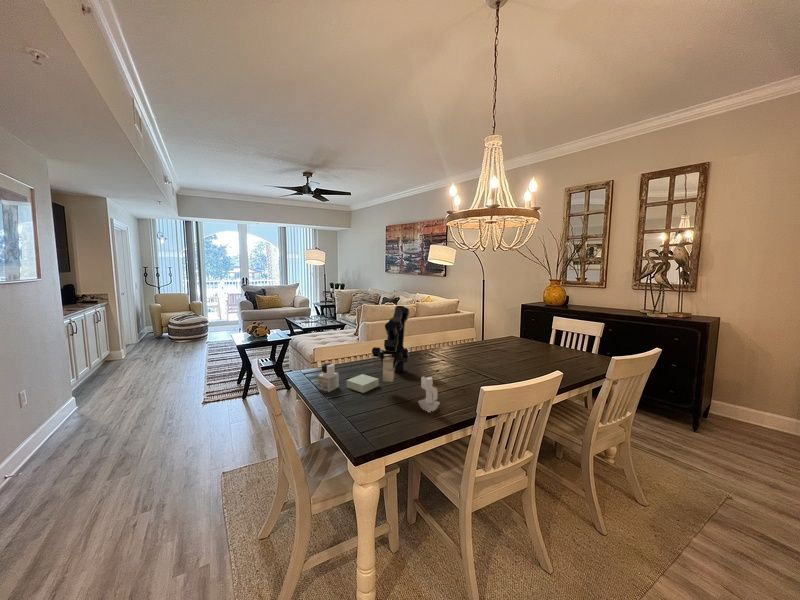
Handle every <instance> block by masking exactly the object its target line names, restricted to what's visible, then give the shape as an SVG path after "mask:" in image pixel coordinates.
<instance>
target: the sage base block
mask: <svg viewBox="0 0 800 600" xmlns="http://www.w3.org/2000/svg"><path fill="white" fill-rule="evenodd" d="M379 381H380V380H379V378H377V377H373V376H369V375H366V374H364V373H361V374H359V375H356V376H354V377H351V378H349V379H346V388H348V389H350V390H354V391H356V392H360V393H362V394H364V393H366V392H369V391H370V390H373V389H376V388H378V387H379V386H380V385H379V383H380V382H379Z"/></svg>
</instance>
